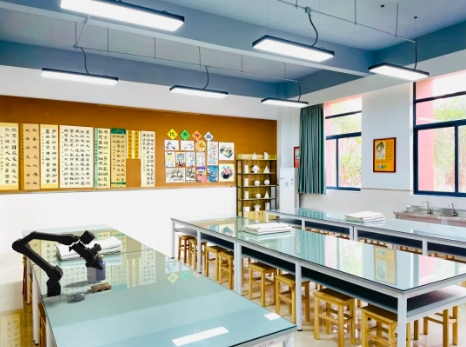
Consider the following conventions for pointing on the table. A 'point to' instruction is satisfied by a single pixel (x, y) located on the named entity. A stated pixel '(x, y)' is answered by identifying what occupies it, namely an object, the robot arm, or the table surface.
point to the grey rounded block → (78, 296)
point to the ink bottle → (101, 273)
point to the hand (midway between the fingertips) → (103, 268)
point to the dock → (100, 287)
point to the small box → (91, 275)
